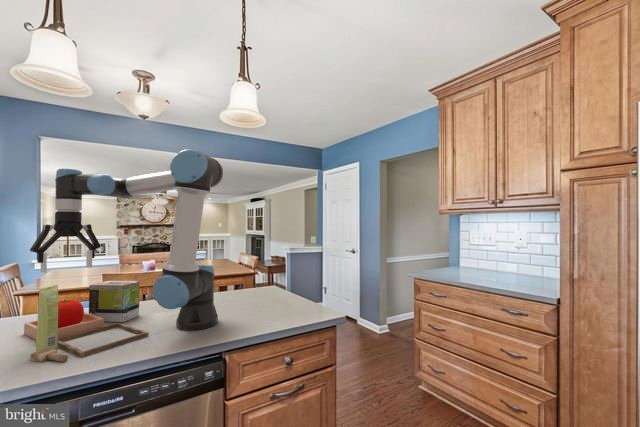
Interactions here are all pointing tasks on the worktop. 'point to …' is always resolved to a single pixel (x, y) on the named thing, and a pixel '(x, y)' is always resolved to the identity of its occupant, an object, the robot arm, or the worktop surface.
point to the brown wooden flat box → (85, 325)
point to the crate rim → (103, 347)
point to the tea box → (114, 300)
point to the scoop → (48, 355)
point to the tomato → (69, 313)
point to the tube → (47, 319)
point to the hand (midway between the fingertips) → (67, 269)
